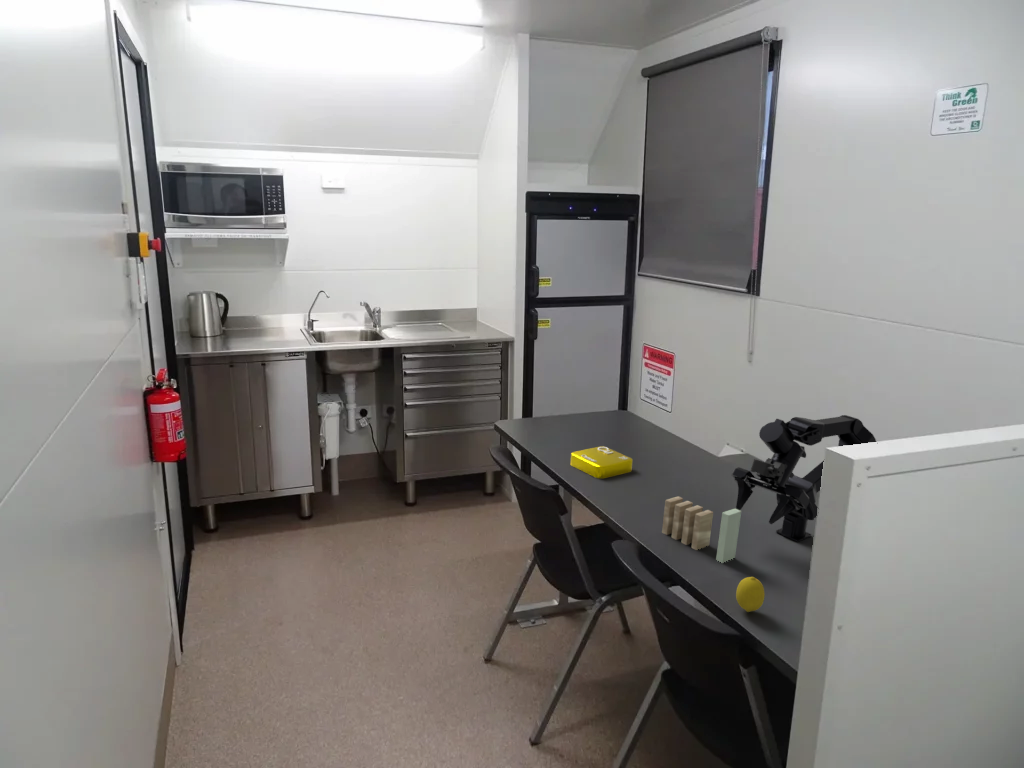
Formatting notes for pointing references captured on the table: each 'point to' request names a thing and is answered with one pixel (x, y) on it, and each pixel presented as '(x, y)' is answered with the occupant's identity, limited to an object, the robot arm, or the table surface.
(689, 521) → the tile
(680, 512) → the tile
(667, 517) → the tile
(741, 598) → the lemon
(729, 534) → the head tile
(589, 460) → the element tile
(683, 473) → the table surface
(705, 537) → the tile
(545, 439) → the table surface
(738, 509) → the robot arm
